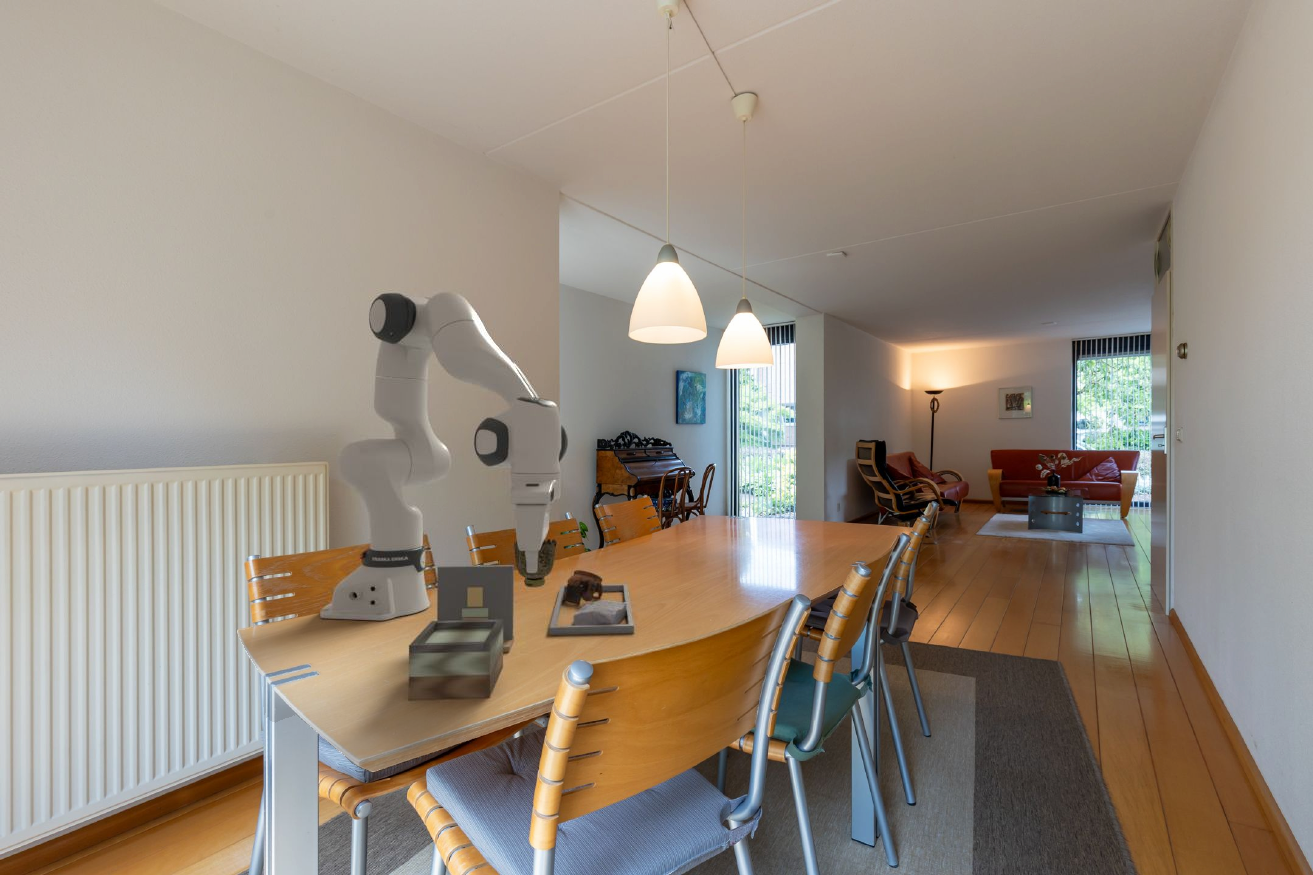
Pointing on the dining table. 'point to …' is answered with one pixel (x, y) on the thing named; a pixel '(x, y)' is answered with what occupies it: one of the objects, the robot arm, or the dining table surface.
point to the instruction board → (477, 595)
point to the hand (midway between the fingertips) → (534, 566)
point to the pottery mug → (582, 587)
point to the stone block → (601, 613)
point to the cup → (544, 563)
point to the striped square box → (456, 659)
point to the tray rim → (593, 628)
